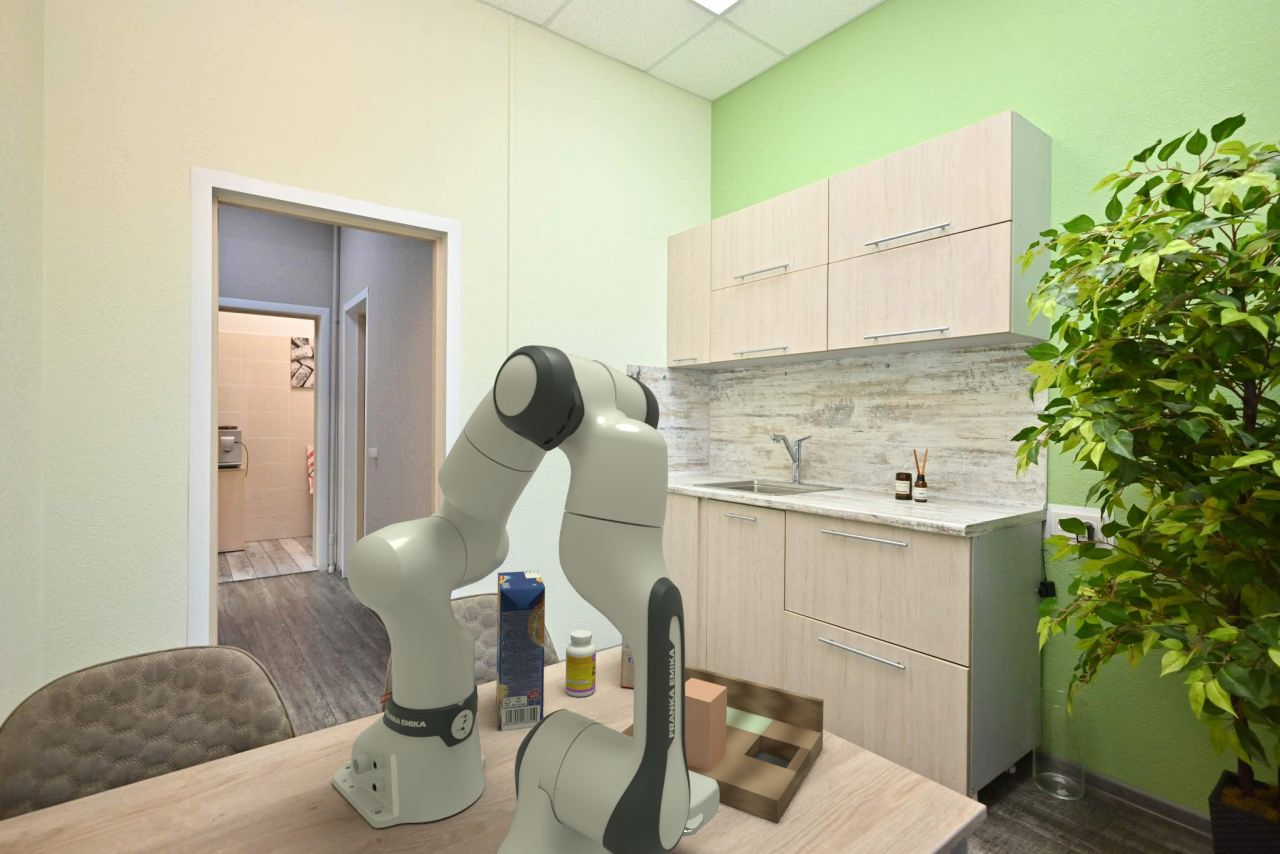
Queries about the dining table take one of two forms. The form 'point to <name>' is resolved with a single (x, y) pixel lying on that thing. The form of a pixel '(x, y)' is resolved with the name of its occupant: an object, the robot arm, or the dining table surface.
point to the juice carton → (520, 649)
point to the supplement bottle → (580, 664)
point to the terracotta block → (705, 723)
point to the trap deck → (763, 744)
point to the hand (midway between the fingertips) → (668, 752)
